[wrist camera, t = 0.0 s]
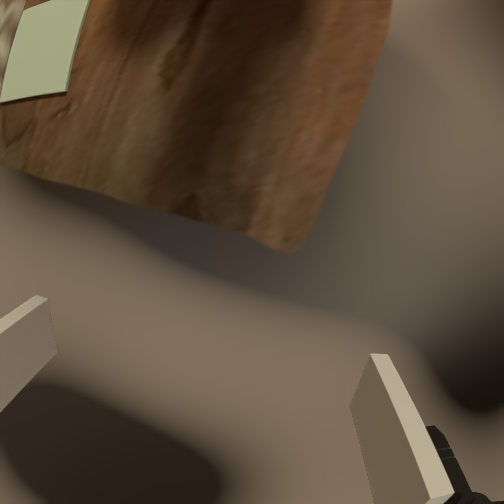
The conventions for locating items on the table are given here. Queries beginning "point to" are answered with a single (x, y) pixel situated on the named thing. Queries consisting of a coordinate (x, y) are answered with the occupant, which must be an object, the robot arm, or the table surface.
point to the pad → (44, 49)
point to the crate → (8, 29)
